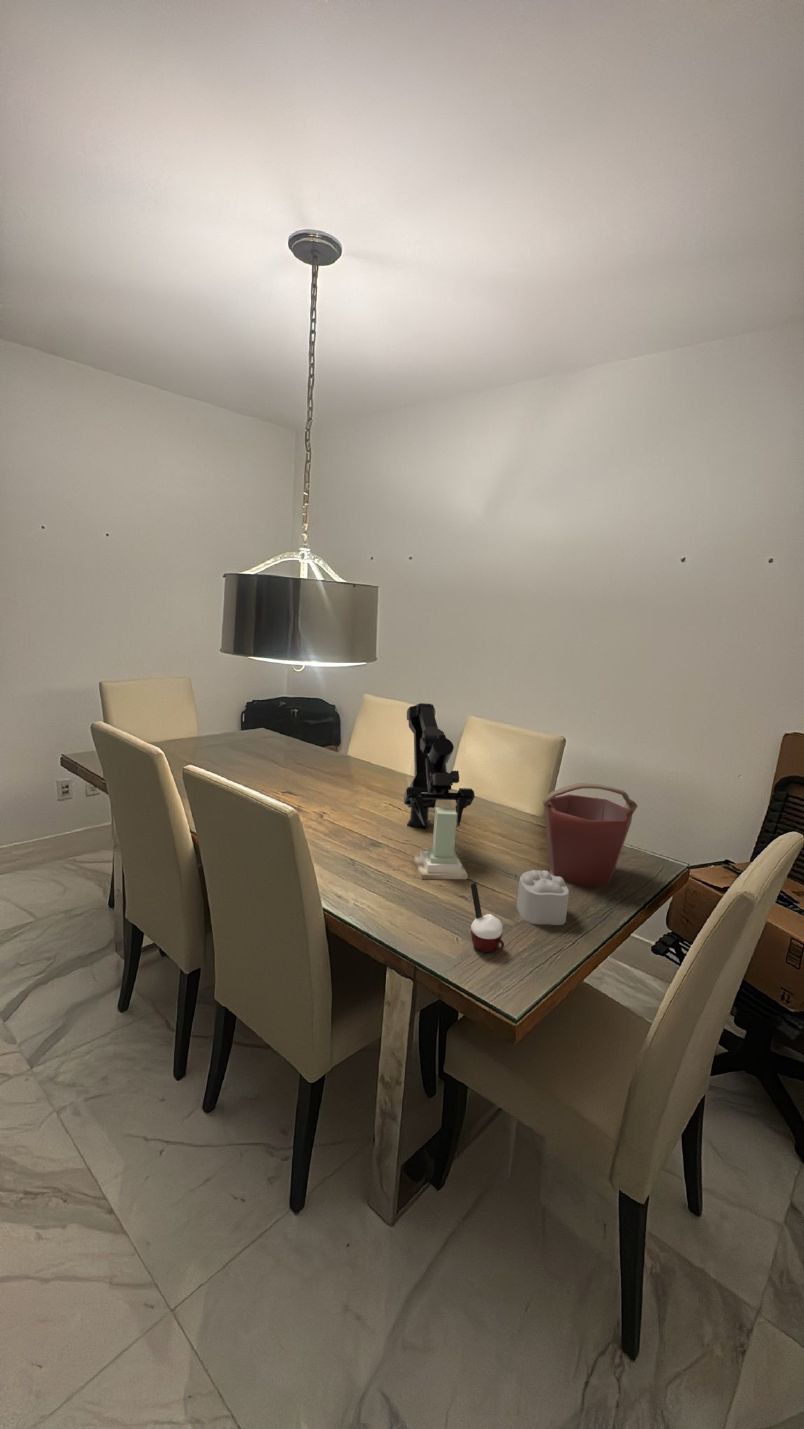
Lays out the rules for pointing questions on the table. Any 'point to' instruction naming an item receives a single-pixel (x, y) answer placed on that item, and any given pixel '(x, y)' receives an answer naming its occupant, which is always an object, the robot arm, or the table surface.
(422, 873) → the ash base slab
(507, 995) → the table surface
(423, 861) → the whitewashed top slab
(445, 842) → the sage pillar
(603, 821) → the bucket
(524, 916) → the white paw print block
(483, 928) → the cocoa
